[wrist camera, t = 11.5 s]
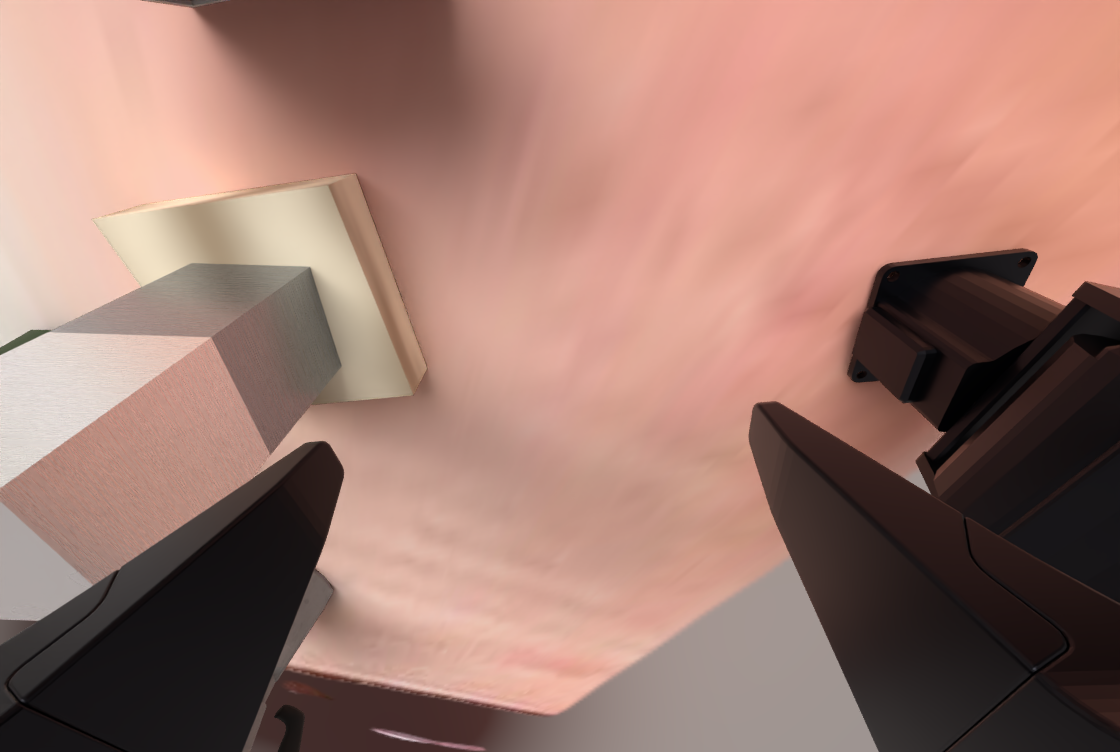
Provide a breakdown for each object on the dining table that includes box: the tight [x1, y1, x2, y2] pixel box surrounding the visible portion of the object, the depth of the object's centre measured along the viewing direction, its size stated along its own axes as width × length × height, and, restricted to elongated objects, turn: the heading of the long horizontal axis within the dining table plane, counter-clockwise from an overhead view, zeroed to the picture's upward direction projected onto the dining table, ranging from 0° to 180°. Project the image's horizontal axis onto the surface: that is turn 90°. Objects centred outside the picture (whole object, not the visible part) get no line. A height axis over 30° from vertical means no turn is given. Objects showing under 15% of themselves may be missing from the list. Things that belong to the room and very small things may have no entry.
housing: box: [0, 263, 342, 621], centre depth 14 cm, size 5×5×12 cm
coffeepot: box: [243, 570, 333, 752], centre depth 30 cm, size 15×9×18 cm, turn 37°
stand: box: [92, 173, 427, 405], centre depth 20 cm, size 10×10×2 cm
